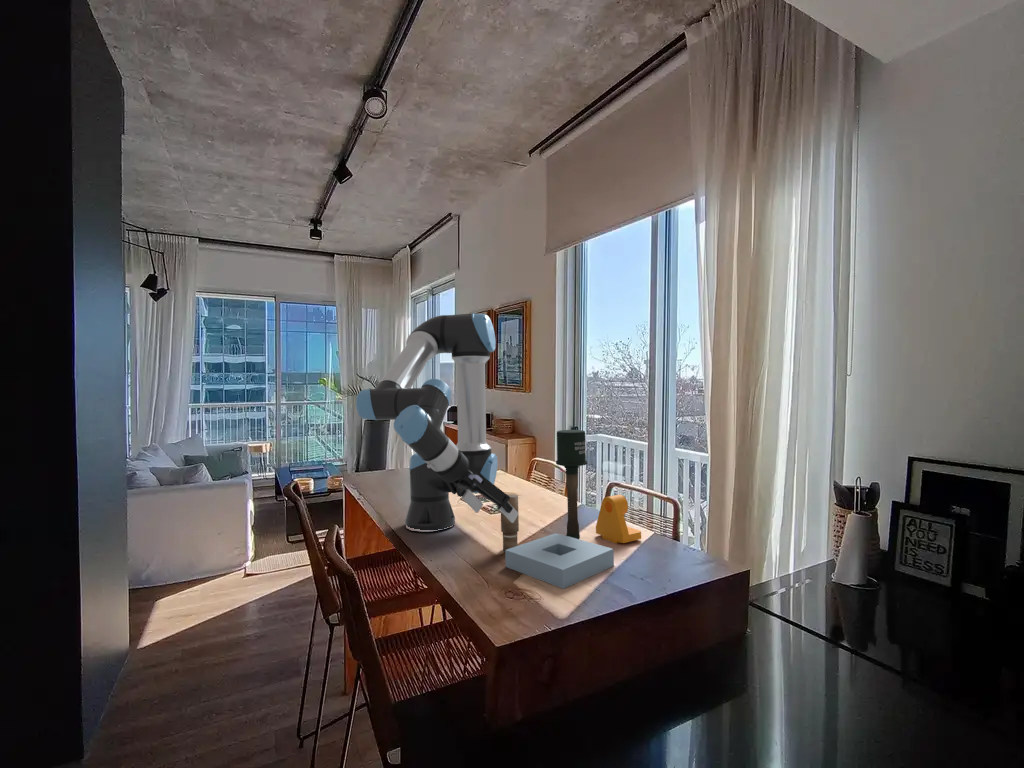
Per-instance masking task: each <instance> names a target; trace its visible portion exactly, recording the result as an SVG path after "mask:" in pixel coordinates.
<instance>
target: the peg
mask: <svg viewBox="0 0 1024 768" xmlns="http://www.w3.org/2000/svg"><path fill="white" fill-rule="evenodd" d="M506 494H507V495H508V496H509V497H510V499H509V500H508V502H509V503H510V504H511V505H512V507H513V508H514V509H515V510H516V511H517V512H518V513H519V495H518V494H514V493H513V494H512V493H506ZM519 525H520V523H519V514H518V516H517V518H516V519H515V521H514V523H511V522H510V521H509V520H508V518H507V517H506V516H505V515H504V514H503V513H502V512H501V511H500V532H501V533H502V550H503V552H505V550H507V549H510V548H513V547H516V546H519V545H518V541H519V540H518V534H519V533H518V532H519V531H520V527H519Z"/></svg>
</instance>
